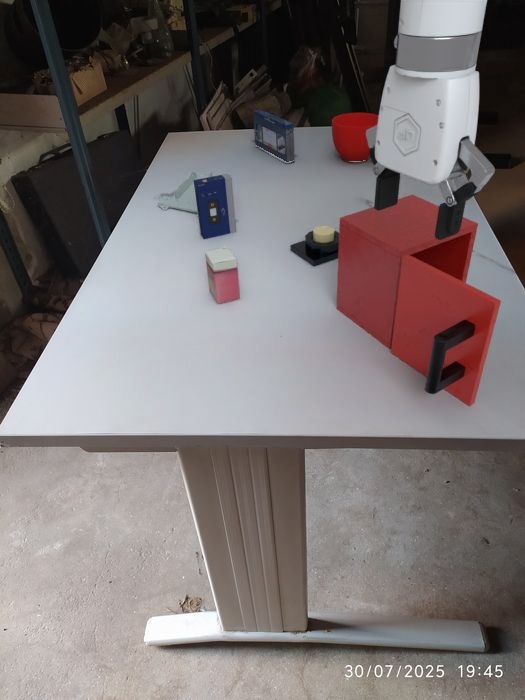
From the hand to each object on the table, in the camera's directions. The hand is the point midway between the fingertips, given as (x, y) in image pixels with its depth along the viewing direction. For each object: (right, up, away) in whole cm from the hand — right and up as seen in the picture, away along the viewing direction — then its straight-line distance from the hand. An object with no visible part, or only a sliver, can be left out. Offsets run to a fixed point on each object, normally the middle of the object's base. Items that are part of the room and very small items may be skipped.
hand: (414, 220), depth 62 cm
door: (+3, -20, +11) cm, 22 cm away
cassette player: (-27, +9, +51) cm, 58 cm away
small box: (-24, -5, +32) cm, 40 cm away
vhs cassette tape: (-14, +39, +88) cm, 97 cm away
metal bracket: (-32, +20, +65) cm, 75 cm away
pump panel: (-6, +4, +42) cm, 43 cm away
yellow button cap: (-6, +6, +41) cm, 41 cm away
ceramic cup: (+8, +35, +80) cm, 88 cm away
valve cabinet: (+4, -9, +24) cm, 26 cm away
